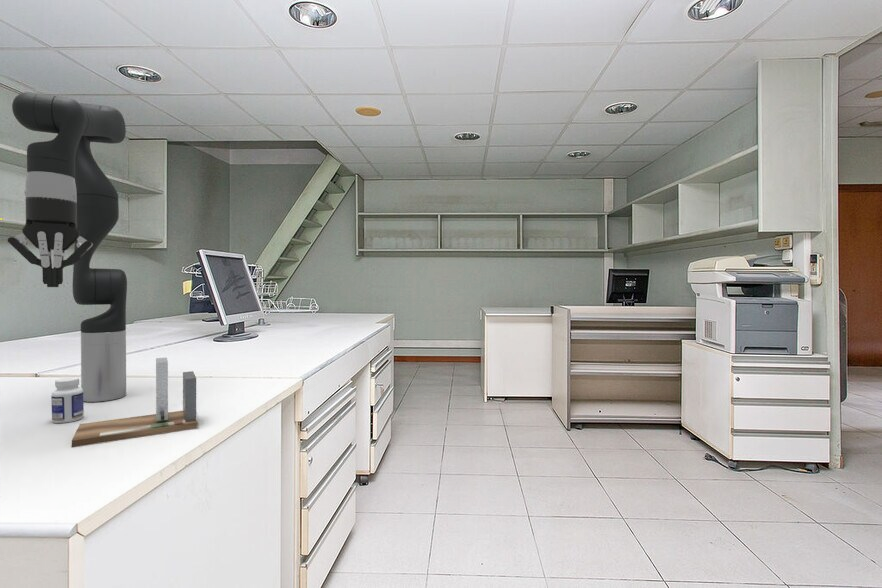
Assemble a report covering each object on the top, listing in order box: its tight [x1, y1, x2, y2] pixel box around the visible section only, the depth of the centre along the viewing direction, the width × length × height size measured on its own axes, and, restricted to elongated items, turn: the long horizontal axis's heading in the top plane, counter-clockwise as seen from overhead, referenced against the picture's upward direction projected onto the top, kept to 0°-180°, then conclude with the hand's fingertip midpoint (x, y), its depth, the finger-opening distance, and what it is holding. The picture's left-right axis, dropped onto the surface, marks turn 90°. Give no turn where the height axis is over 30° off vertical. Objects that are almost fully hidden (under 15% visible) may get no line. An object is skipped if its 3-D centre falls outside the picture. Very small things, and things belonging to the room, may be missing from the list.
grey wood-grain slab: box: [182, 371, 197, 422], centre depth 95 cm, size 8×2×9 cm, turn 34°
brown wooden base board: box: [71, 410, 198, 448], centre depth 90 cm, size 11×20×2 cm, turn 124°
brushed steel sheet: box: [155, 357, 169, 421], centre depth 91 cm, size 9×2×12 cm, turn 34°
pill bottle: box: [50, 376, 85, 424], centre depth 95 cm, size 5×5×9 cm
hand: (52, 287), depth 86 cm, fingers closed
